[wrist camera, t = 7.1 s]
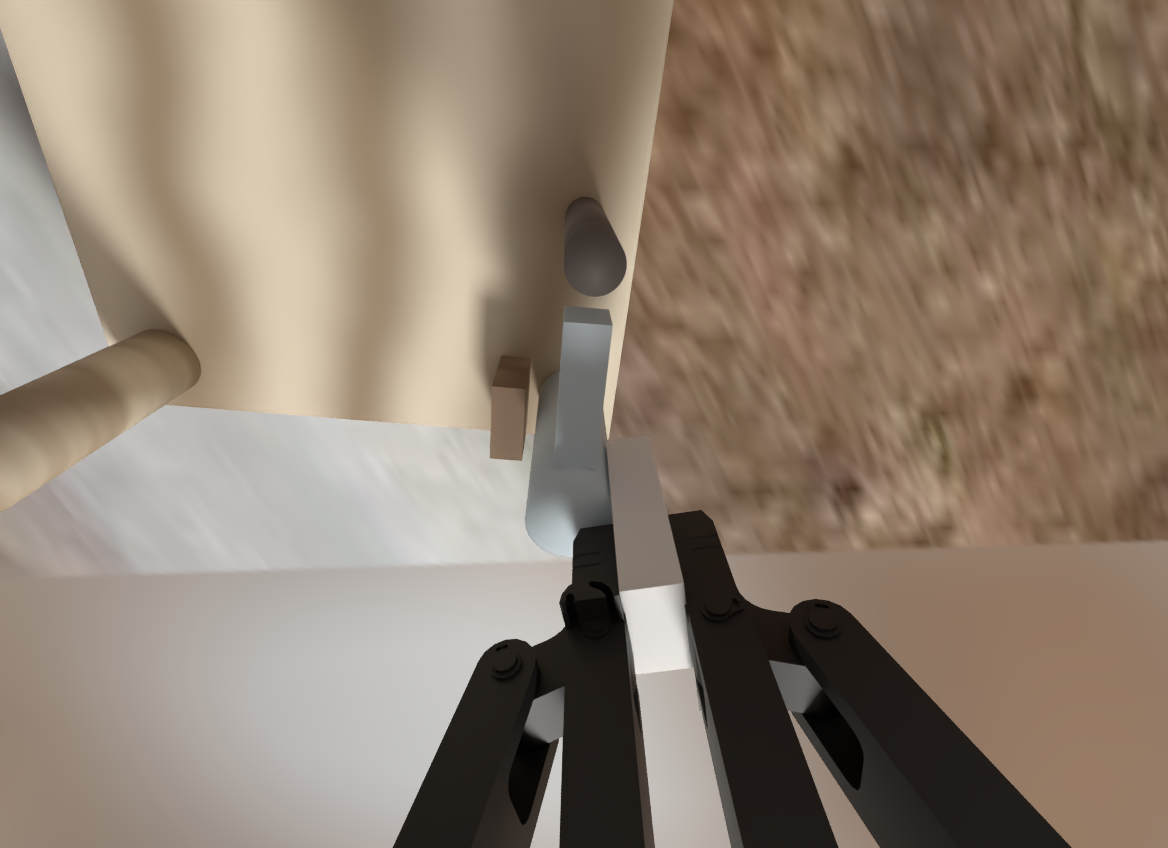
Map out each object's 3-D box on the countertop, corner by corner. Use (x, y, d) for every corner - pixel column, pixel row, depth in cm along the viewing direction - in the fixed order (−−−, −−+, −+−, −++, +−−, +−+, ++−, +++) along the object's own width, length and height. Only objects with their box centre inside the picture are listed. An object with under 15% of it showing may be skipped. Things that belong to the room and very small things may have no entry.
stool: (168, 377, 24) (-85, 528, 15) (-29, -293, 14) (-1106, -1073, 5) (604, 413, 25) (626, 571, 16) (687, -172, 16) (854, -607, 7)
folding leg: (537, 423, 22) (523, 554, 15) (546, 259, 19) (532, 330, 12) (598, 427, 22) (612, 559, 15) (616, 265, 19) (645, 338, 12)
